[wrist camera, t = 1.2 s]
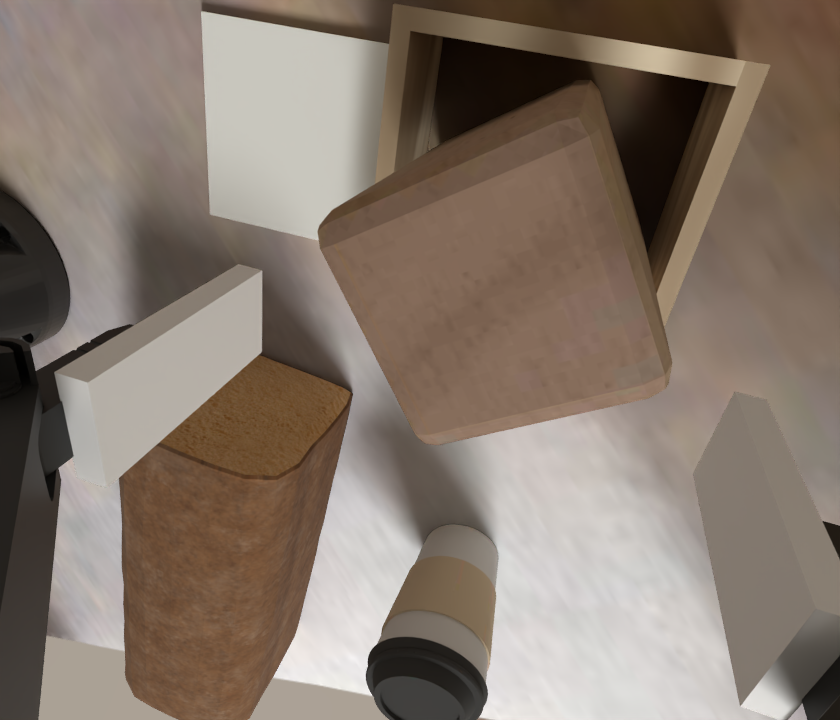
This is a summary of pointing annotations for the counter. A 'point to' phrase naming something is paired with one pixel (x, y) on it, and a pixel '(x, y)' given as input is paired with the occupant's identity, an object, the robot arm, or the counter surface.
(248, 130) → the grey mat
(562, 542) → the counter surface
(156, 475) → the bread
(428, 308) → the wooden block
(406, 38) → the birch frame
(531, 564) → the counter surface
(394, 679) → the coffee cup
